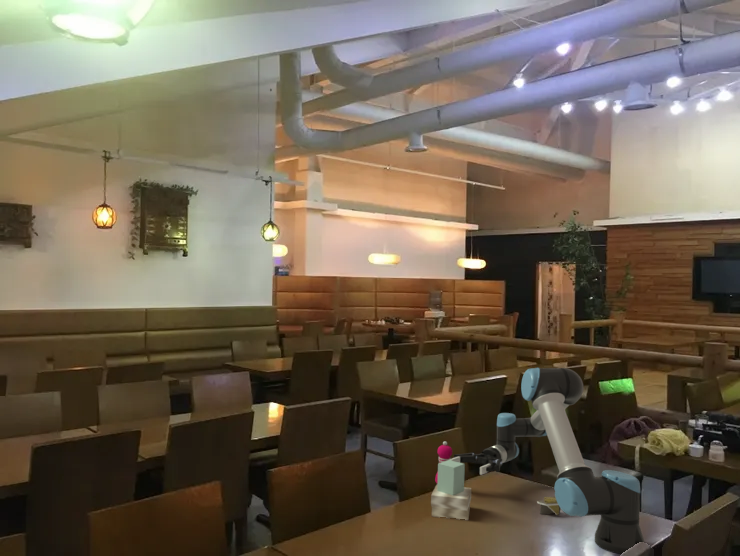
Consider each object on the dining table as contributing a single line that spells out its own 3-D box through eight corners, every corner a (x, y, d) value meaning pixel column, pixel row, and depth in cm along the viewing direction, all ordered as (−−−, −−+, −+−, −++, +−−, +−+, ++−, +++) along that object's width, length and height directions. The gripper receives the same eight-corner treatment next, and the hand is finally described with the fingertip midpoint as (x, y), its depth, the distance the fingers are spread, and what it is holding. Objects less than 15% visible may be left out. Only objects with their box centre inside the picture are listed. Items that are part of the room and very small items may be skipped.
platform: (582, 520, 227) (582, 502, 227) (536, 523, 223) (536, 504, 223) (565, 508, 239) (565, 491, 239) (521, 511, 235) (521, 493, 235)
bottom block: (469, 508, 236) (470, 498, 236) (468, 521, 223) (468, 510, 223) (435, 505, 239) (435, 495, 239) (431, 517, 226) (431, 506, 226)
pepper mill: (432, 488, 257) (433, 439, 257) (448, 487, 259) (449, 438, 259) (439, 494, 250) (440, 444, 250) (455, 493, 252) (457, 443, 252)
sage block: (448, 486, 236) (448, 459, 237) (463, 491, 232) (464, 463, 232) (437, 490, 231) (438, 463, 231) (453, 495, 227) (453, 467, 227)
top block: (471, 498, 235) (471, 488, 235) (467, 510, 223) (467, 499, 223) (436, 494, 239) (436, 484, 239) (430, 506, 226) (431, 495, 226)
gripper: (521, 472, 246) (493, 484, 230) (466, 459, 262) (437, 469, 246) (522, 453, 246) (494, 464, 230) (467, 441, 262) (438, 450, 246)
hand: (465, 467), depth 238 cm, fingers open, 13 cm apart
